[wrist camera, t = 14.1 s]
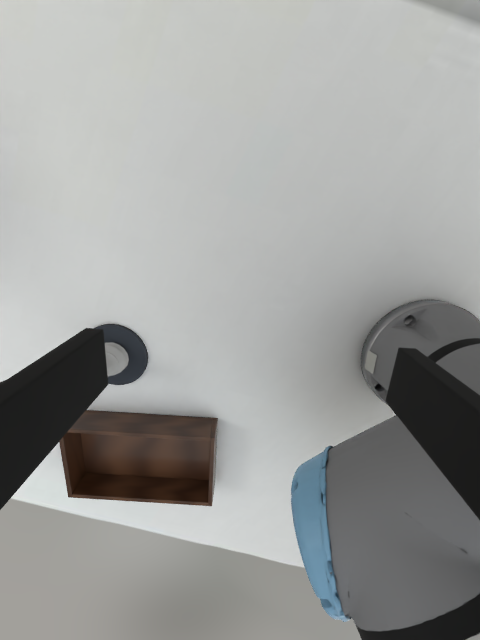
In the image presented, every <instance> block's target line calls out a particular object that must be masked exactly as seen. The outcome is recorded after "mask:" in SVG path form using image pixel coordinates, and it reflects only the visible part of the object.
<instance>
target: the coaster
mask: <svg viewBox="0 0 480 640" xmlns="http://www.w3.org/2000/svg"><path fill="white" fill-rule="evenodd" d="M94 329H103V331H104V342H105V343H111V342H113V343H116V344H119V345H120V346H121V347H123V348H124V349H125V351H126V352H127V354H128V358H129V361H128V365H127V366H126V368H125V369H124V370H122V371H121V372H120V373H118V374H116V375H112V376H108V383H109V384H114V385H124V384H128V383H131V382H133V381H135V380H137V379H138V378H139V377H140V376H141V375H142V374H143V372H144V371H145V369H146V366H147V362H148V354H147V350H146V347H145V345H144V343H143V341H142V340H141V339H140V337H139V336H138V335H137V334H136V333H134V332H133V331H132V330H130V329H128V328H126V327H124V326H120V325H115V324H105V325H101V326H98V327H96V328H94Z"/></svg>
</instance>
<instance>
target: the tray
mask: <svg viewBox="0 0 480 640" xmlns="http://www.w3.org/2000/svg"><path fill="white" fill-rule="evenodd" d="M217 421H218V418H205V417H189V416H173V415H156V414H140V413H124V412H108V411H92V410H86V411H85V412H84V413H83V414H82V415H81V416H80V418H79V419H78V420H77V421H76V422H75V423H74V425H73V426H72V427H71V428H70V429H69V430H68V432H67V433H66V434H65V435H64V436H63V437H62V439H61V440H60V441H59V442H60V448H61V455H62V461H63V467H64V473H65V479H66V485H67V492H68V497H73V498H89V499H105V500H122V501H138V502H154V503H170V504H187V505H203V506H212V502H213V494H214V485H215V468H216V445H217Z"/></svg>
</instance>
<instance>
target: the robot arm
mask: <svg viewBox="0 0 480 640" xmlns="http://www.w3.org/2000/svg"><path fill="white" fill-rule="evenodd" d="M361 367H362V372H363V375H364V378H365V380H366V382H367V383H368V385H369V386H370V387H371V389H372V390H373V391H374V393H375V394H376V395H377V396H378V397H379V398H380V399H381V400H382V401H384V402H385V403H387V404H388V405H389V406H390V408H391V409H392V410H393V411H394V413H395V414H396V416H394V417H392V418H390V419H388V420H386V421H384V422H382V423H380V424H378V425H376V426H374V427H372V428H370V429H368V430H366V431H364V432H362V433H360V434H358V435H356V436H354V437H352V438H350V439H348V440H346V441H344V442H342V443H340V444H338V445H336V446H334V447H333V446H329V447H327V448H325V450H324V452H322V453H320V454H319V455H317V456H315V457H313V458H312V459H310V460H308V461H306V462H305V463H303V464H302V465H301V466H300V467H299V468H298V469H297V470H296V472H295V475H294V477H293V481H292V488H291V495H292V498H291V504H292V514H293V521H294V527H295V532H296V537H297V541H298V545H299V549H300V553H301V556H302V560H303V563H304V566H305V569H306V572H307V575H308V578H309V580H310V583H311V585H312V587H313V590H314V592H315V594H316V595H317V597H319V598H320V600H321V604H322V607H323V608H324V610H325V611H326V612H327V614H328V615H329V616H331V617H332V618H333V619H339V620H342V621H343V622H344V621H348V620H350V619H351V618H352V619H353V620H354V622H355V624H356V627H357V629H358V631H359V633H360V636H361V638H362V640H480V321H479V320H478V319H477V318H476V317H475V316H474V315H473V314H471V313H470V312H468V311H467V310H465V309H463V308H460V307H458V306H455V305H453V304H450V303H447V302H444V301H439V300H421V301H415V302H412V303H408V304H405V305H403V306H401V307H398V308H396V309H395V310H393V311H391V312H390V313H388V314H387V315H386V316H385V317H383V318H382V319H381V320H380V321H379V322H378V323H377V324H376V325H375V326H374V328H373V329H372V330H371V332H370V333H369V335H368V337H367V339H366V341H365V343H364V346H363V350H362V356H361ZM107 385H108V375H107V364H106V353H105V342H104V331H103V329H90V328H86V329H84V330H83V331H81V332H80V333H78V334H76V335H75V336H73V337H72V338H70V339H69V340H67V341H66V342H64V343H63V344H61V345H60V346H58V347H57V348H55V349H53V350H52V351H50V352H49V353H47V354H46V355H44V356H43V357H41V358H40V359H38V360H37V361H35V362H34V363H32V364H30V365H29V366H27V367H26V368H24V369H23V370H21V371H20V372H18V373H17V374H15V375H14V376H12V377H11V378H9V379H7V380H5V381H3V382H0V509H1V508H2V507H3V506H4V505H5V504H6V503H7V502H8V500H9V499H10V498H11V497H12V496H13V495H14V493H15V492H16V491H17V490H18V489H19V488H20V486H21V485H22V484H23V483H24V482H25V481H26V479H27V478H28V477H29V476H30V475H31V474H32V472H33V471H34V470H35V469H36V468H37V467H38V465H39V464H40V463H41V462H42V461H43V460H44V458H45V457H46V456H47V455H48V454H49V453H50V451H51V450H52V449H53V448H54V447H55V446H56V444H57V443H58V442H59V441H60V440H61V439H62V437H63V436H64V435H65V434H66V433H67V432H68V430H69V429H70V428H71V427H72V426H73V425H74V423H75V422H76V421H77V420H78V419H79V418H80V416H81V415H82V414H83V413H84V412H85V411H86V410H87V408H88V407H89V406H90V405H91V404H92V403H93V401H94V400H95V399H96V398H97V397H98V396H99V394H100V393H101V392H102V391H103V390H104V389H105V387H106V386H107Z"/></svg>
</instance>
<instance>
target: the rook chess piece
mask: <svg viewBox="0 0 480 640" xmlns="http://www.w3.org/2000/svg"><path fill="white" fill-rule="evenodd" d="M105 353H106V364H107V375H108V376H112V375H116V374H118V373H120V372H121V371H122V370H124V369H125V368H126V366H127V365H128V361H129V358H128V354H127V352H126V351H125V349H124V348H123V347H121V346H120V345H119V344H116V343H113V342H111V343H105Z"/></svg>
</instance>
